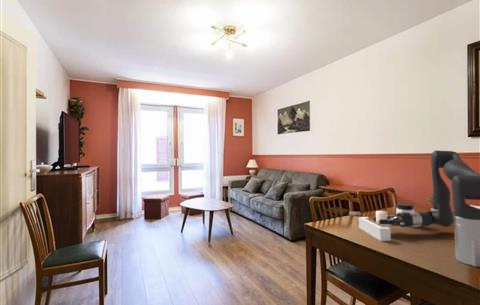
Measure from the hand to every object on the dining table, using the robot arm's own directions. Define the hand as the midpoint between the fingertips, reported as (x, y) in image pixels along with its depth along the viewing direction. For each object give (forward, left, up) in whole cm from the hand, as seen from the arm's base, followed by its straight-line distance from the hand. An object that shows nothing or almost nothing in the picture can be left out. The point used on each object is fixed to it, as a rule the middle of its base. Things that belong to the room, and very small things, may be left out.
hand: (376, 220), depth 128 cm
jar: (+16, -26, -7) cm, 31 cm away
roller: (+39, -7, -5) cm, 40 cm away
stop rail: (+1, +1, -7) cm, 7 cm away
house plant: (+28, -56, -7) cm, 63 cm away
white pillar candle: (0, -3, -6) cm, 7 cm away
